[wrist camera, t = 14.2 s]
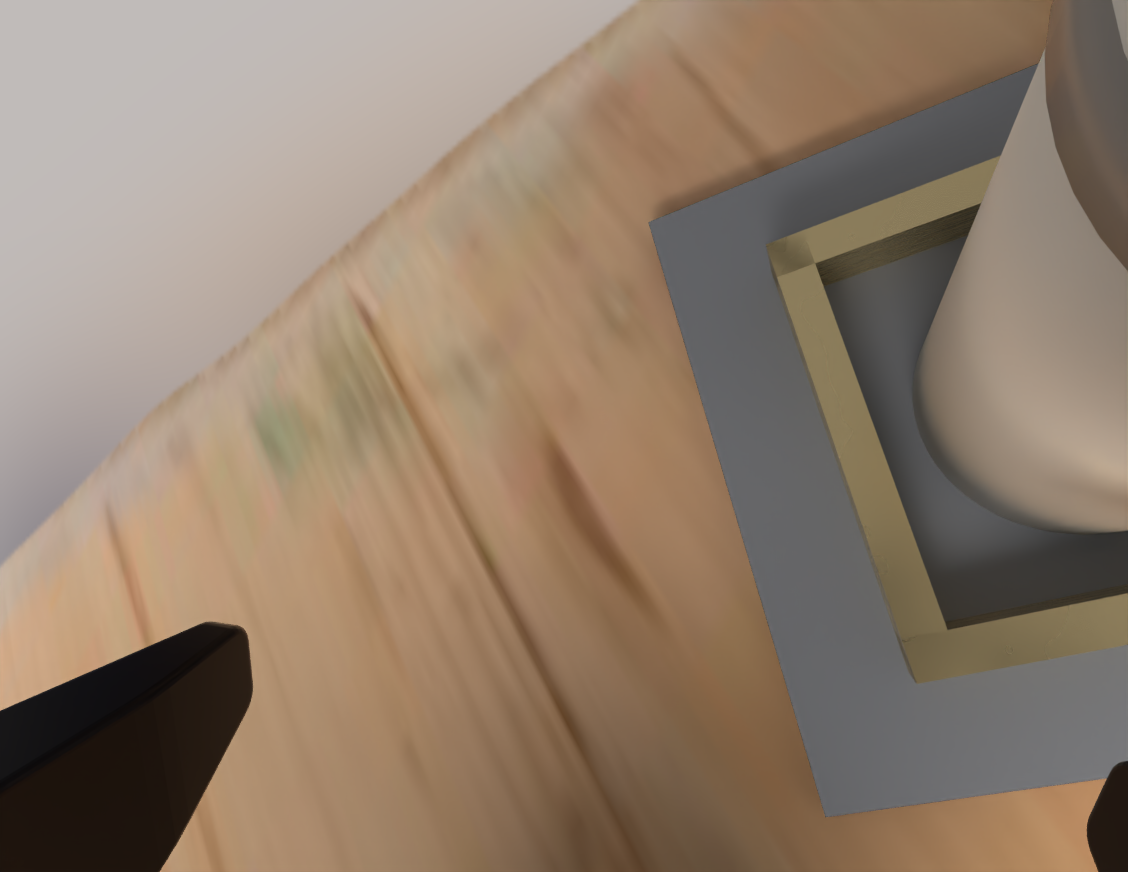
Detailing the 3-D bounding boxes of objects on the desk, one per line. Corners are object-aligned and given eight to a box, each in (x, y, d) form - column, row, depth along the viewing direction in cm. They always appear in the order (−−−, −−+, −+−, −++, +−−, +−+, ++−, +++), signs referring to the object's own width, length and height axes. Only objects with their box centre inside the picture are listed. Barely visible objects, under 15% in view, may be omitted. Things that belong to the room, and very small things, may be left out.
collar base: (1753, 675, 11) (1955, 700, 9) (825, 807, 15) (825, 844, 13) (1302, -29, 14) (1376, -121, 12) (654, 232, 18) (633, 193, 16)
